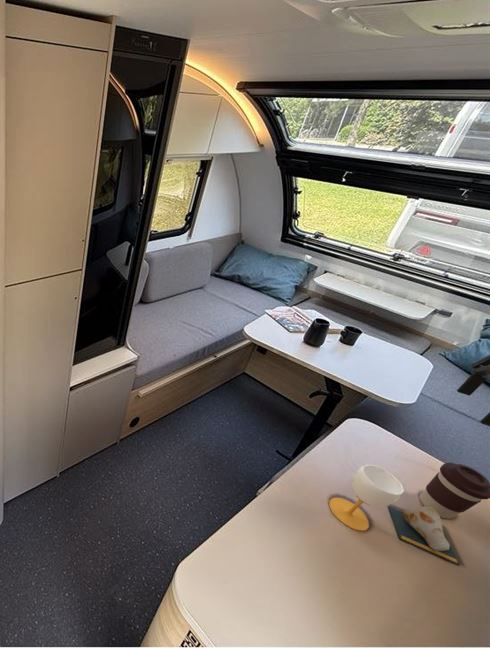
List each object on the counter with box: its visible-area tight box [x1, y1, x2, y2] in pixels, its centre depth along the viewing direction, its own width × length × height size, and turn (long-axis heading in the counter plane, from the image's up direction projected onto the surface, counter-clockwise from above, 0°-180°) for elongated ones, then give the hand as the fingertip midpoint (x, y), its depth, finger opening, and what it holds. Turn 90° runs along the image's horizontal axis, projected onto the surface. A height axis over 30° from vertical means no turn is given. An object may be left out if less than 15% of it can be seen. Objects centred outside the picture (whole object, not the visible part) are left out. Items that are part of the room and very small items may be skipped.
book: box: [387, 505, 461, 566], centre depth 95 cm, size 12×10×1 cm
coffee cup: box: [419, 462, 490, 520], centre depth 99 cm, size 10×10×15 cm
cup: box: [328, 464, 405, 532], centre depth 94 cm, size 9×9×16 cm
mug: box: [401, 506, 451, 551], centre depth 94 cm, size 8×10×10 cm
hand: (474, 408), depth 97 cm, fingers open, 13 cm apart
